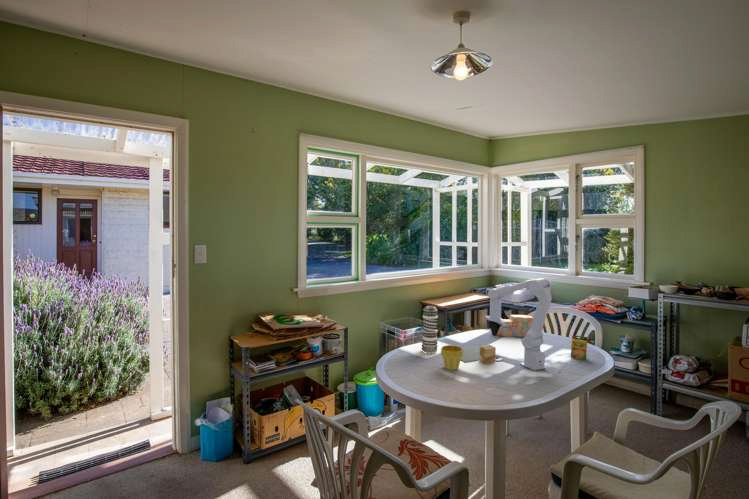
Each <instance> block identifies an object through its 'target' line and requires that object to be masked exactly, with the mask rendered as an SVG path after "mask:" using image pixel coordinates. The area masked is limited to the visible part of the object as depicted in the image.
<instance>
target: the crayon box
mask: <svg viewBox="0 0 749 499" xmlns="http://www.w3.org/2000/svg"><path fill="white" fill-rule="evenodd" d="M587 349H588V336H581V335H575V334H572V339H571V350H570V358H571V359H572V358H573V359H577V358H578V360H584V359H585V361H586V360H587V352H588V350H587Z"/></svg>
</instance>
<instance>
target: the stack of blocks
mask: <svg viewBox="0 0 749 499" xmlns="http://www.w3.org/2000/svg"><path fill="white" fill-rule="evenodd" d="M533 318H534V316H533V317H532V316H531V315H527V314H526V315H525V314H510V315H509V319H507V318H506V319H505V318H504V319H503V318H502V320H503V321H505V322H506V325H504V326H502V325H501V326H500V328H499V330H498V333H497V337H498V336H500V337H523V338H524V337H525V336H526V333H527V332H528V331H529V330H530V328H531V324H532V321H533Z"/></svg>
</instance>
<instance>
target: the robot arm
mask: <svg viewBox="0 0 749 499" xmlns="http://www.w3.org/2000/svg"><path fill="white" fill-rule="evenodd" d="M551 287H552V284H551V283H550V282H549V280H548V279H547V278H544V277H541V278H536V279H534V278H533V279H528V280H525V281H521V282H518V283H515V284H513V285H512V284H511V283H509V284H508V283H504V284H503V285H501V286H496V288H491V289H490V290H488V291H487V292H488V294H487V296H488V298H489V299H490V300H489V315H484V320H486V321H489V322H488V325H489V329H490V331H491V335H492V336H493V337H496V336H497V333H498V330H499V328H500V326H501V325H502V326H504V325H506V322H505V321H503V320H502V319H503V318H502V301H503V300H502V299H503V298H506V297H509V296H512V295H514V294H515V292H517V291H521V290H524V289H525V290H528V291H530V292H531V293H532V294H533V295H534V296H535V297H536V298H537V300H538V302H537V305H536V308H535V311H534V315H533V321H532V324H531V328H530V330H529V331H528V332H527V333H526V336H525V337H523V338H522V340H521V343H522V346H523V349H524V353H523V354H524V355H523V356H524V357H523V359H524V360H523V362H519V364H520V365H521V366H523V367H526V368H528V369H530V370H532V371H537V370H542V369H546V366H545V365H546V364H545V360H546V355H545V352H542V350H541V346H542V345H543V343H544V339H543V338H544V337H543V336H544V333H543V332H542V331H543V328H544V325H545V322H546V318H547V316H548V313H549V309H550V306H551V303H552V297H553V296H552V294H551ZM497 337H498V336H497Z"/></svg>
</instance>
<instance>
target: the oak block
mask: <svg viewBox="0 0 749 499" xmlns="http://www.w3.org/2000/svg"><path fill="white" fill-rule="evenodd" d="M479 347H480V356H479V360H478V361H479V362H480V363H482V364H484V365H489V364H495V363H496V358H495V354H496V347H495V346H493V345H491V344H486V345H480V346H479Z"/></svg>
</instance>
